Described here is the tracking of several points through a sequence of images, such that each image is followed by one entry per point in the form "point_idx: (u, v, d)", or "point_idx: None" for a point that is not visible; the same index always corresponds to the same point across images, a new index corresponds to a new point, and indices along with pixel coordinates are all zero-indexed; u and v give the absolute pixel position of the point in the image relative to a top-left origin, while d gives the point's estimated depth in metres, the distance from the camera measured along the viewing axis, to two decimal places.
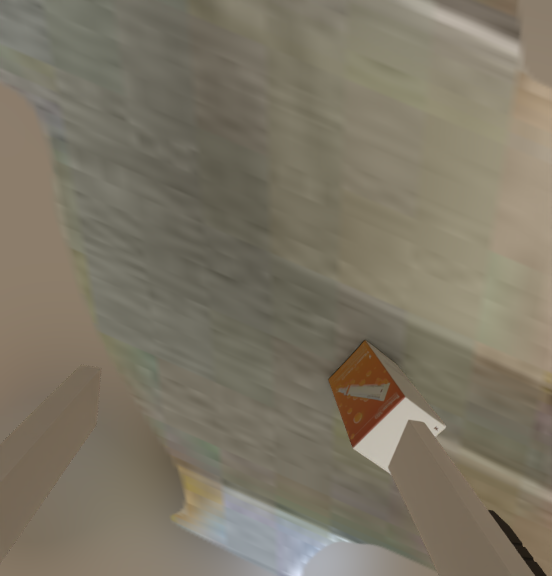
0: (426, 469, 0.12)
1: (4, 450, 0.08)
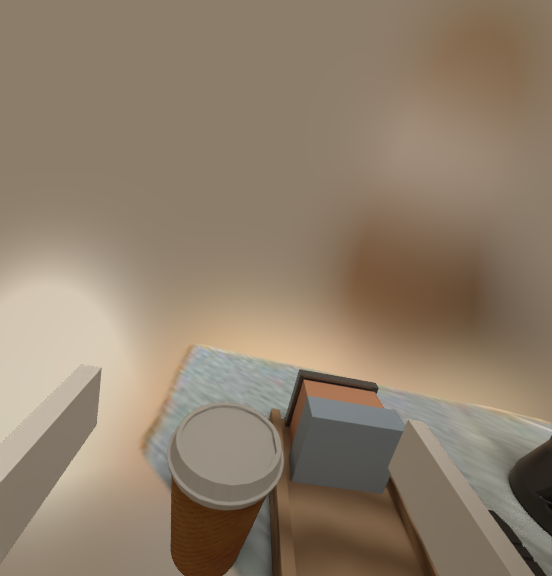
0: (426, 469, 0.12)
1: (4, 450, 0.08)
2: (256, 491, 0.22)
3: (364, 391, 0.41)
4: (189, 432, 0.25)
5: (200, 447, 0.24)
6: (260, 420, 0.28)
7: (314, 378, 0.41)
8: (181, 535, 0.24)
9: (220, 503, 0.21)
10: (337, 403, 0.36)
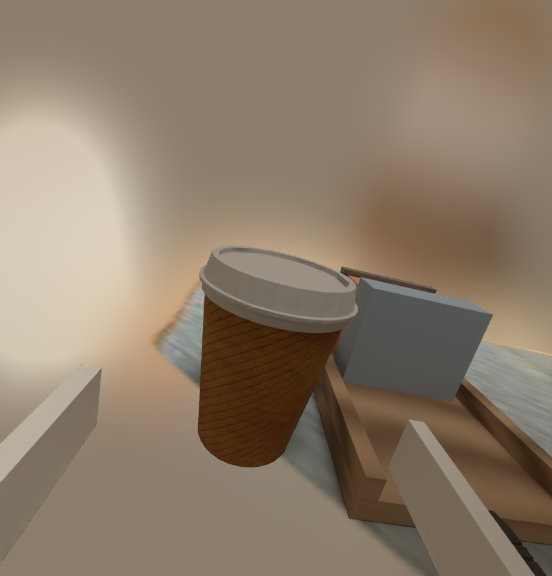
0: (427, 469, 0.12)
1: (4, 450, 0.08)
2: (333, 310, 0.15)
3: None
4: (228, 258, 0.18)
5: (246, 267, 0.17)
6: (316, 268, 0.21)
7: (360, 275, 0.34)
8: (218, 393, 0.17)
9: (285, 314, 0.14)
10: (398, 286, 0.29)
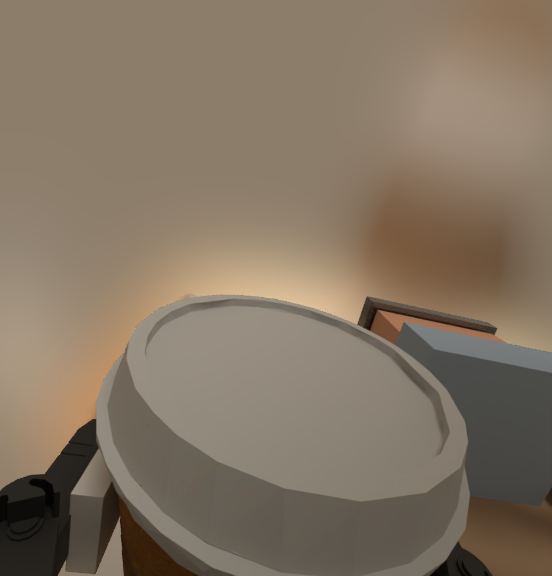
0: None
1: None
2: (438, 524, 0.06)
3: (477, 332, 0.25)
4: (175, 337, 0.09)
5: (208, 372, 0.07)
6: (352, 334, 0.12)
7: (394, 309, 0.25)
8: None
9: None
10: (460, 336, 0.19)
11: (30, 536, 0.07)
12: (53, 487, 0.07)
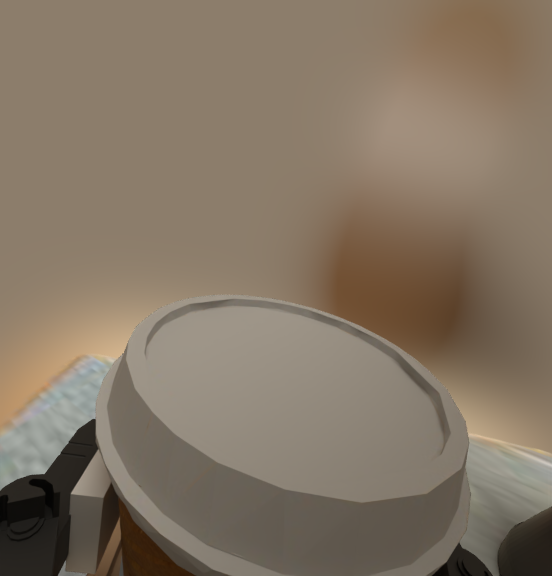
0: None
1: None
2: (439, 525, 0.06)
3: None
4: (175, 337, 0.08)
5: (208, 372, 0.07)
6: (352, 334, 0.12)
7: None
8: None
9: None
10: None
11: (30, 536, 0.07)
12: (53, 487, 0.07)
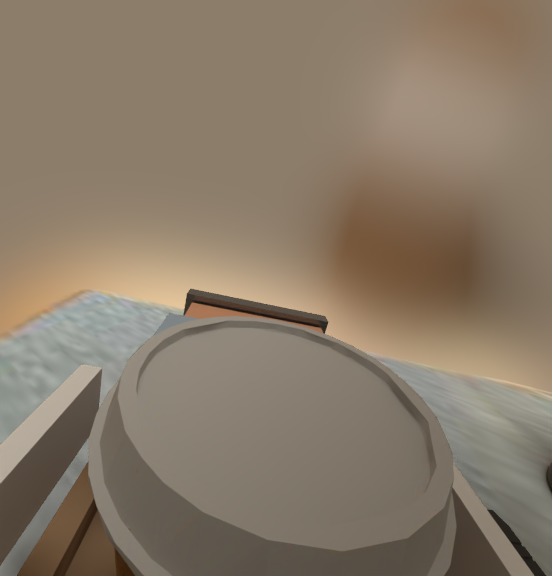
0: None
1: (5, 450, 0.08)
2: (421, 564, 0.06)
3: (302, 325, 0.24)
4: (168, 367, 0.09)
5: (199, 405, 0.07)
6: (345, 355, 0.12)
7: (213, 302, 0.23)
8: None
9: None
10: None
11: None
12: None
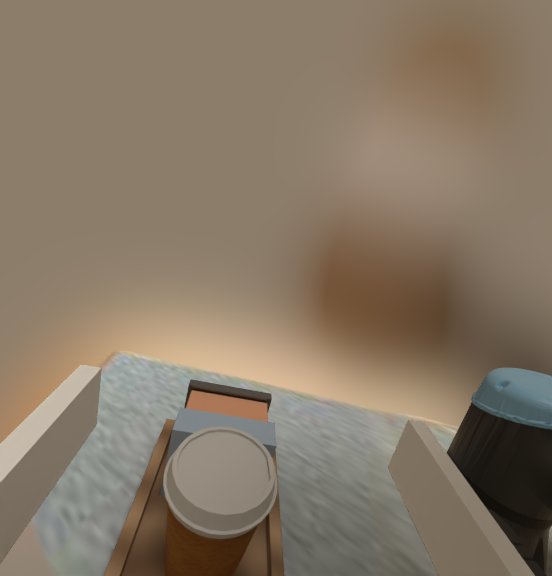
0: (426, 469, 0.12)
1: (4, 450, 0.08)
2: (249, 520, 0.23)
3: (255, 402, 0.41)
4: (185, 458, 0.26)
5: (195, 474, 0.25)
6: (255, 445, 0.29)
7: (204, 389, 0.41)
8: (176, 561, 0.25)
9: (214, 532, 0.22)
10: (210, 415, 0.35)
11: None
12: None
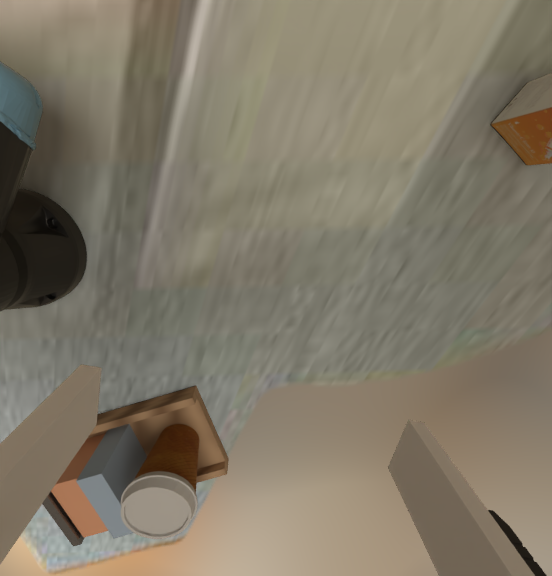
0: (426, 469, 0.12)
1: (4, 450, 0.08)
2: (179, 485, 0.38)
3: (56, 494, 0.42)
4: (165, 530, 0.40)
5: (172, 521, 0.39)
6: (126, 503, 0.38)
7: (75, 532, 0.43)
8: None
9: (194, 495, 0.39)
10: (105, 519, 0.42)
11: None
12: None
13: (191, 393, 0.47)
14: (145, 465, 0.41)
